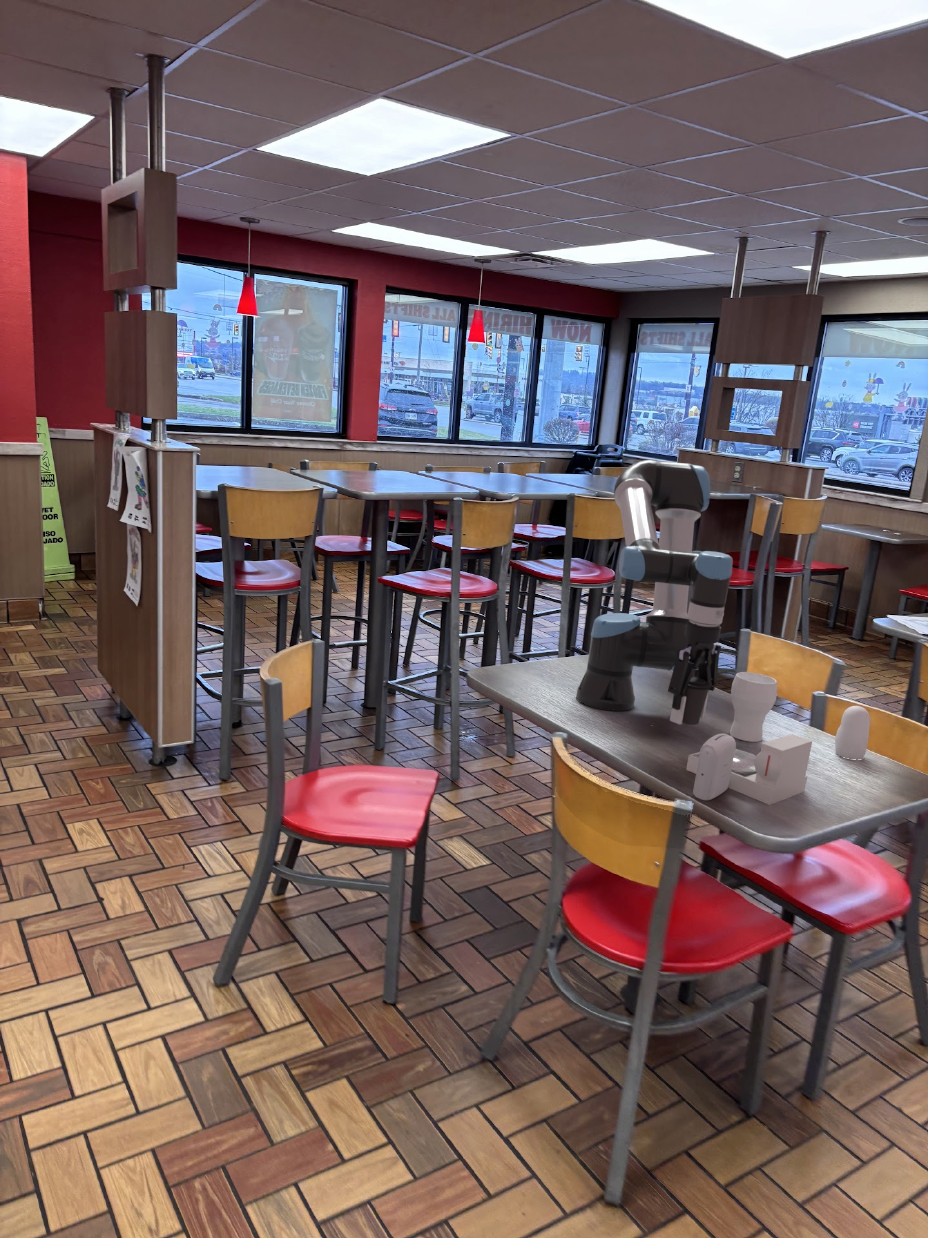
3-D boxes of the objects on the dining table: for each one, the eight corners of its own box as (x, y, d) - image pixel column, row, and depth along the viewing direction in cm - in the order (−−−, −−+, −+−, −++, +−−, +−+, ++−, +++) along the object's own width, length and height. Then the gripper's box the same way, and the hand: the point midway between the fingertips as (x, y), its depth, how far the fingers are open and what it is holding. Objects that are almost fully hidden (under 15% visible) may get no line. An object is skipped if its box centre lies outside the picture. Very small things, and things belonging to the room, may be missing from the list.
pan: (693, 767, 195) (695, 753, 195) (724, 757, 203) (726, 744, 203) (742, 787, 187) (745, 773, 186) (772, 776, 195) (775, 762, 194)
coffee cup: (684, 728, 200) (692, 685, 198) (661, 715, 207) (668, 673, 204) (712, 725, 204) (720, 683, 201) (688, 712, 211) (695, 671, 208)
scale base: (686, 769, 196) (694, 719, 193) (722, 758, 205) (730, 710, 202) (773, 806, 181) (783, 753, 178) (807, 792, 190) (818, 741, 188)
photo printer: (709, 803, 179) (719, 744, 176) (689, 795, 182) (699, 737, 179) (730, 790, 187) (741, 733, 184) (711, 783, 190) (721, 727, 187)
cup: (770, 747, 216) (782, 687, 213) (725, 740, 218) (735, 680, 215) (765, 733, 226) (776, 675, 223) (721, 726, 228) (731, 669, 225)
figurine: (863, 753, 219) (873, 706, 216) (866, 763, 212) (876, 715, 209) (832, 747, 221) (841, 700, 218) (834, 757, 214) (844, 709, 211)
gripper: (690, 631, 190) (673, 732, 196) (744, 622, 204) (727, 717, 209) (661, 622, 195) (645, 721, 201) (716, 613, 209) (699, 706, 215)
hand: (687, 719), depth 205 cm, fingers closed on coffee cup, 8 cm apart
